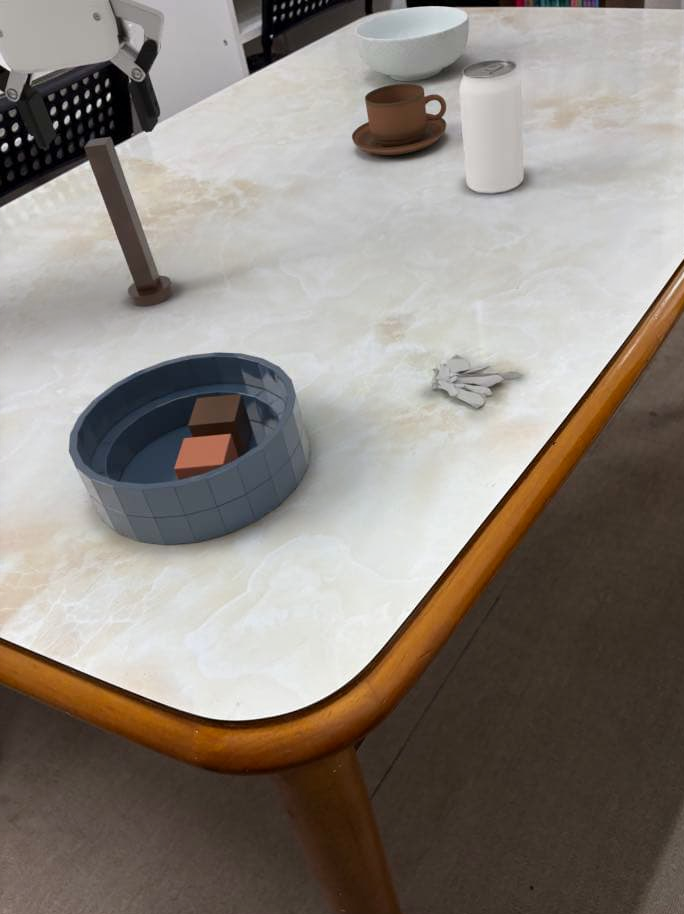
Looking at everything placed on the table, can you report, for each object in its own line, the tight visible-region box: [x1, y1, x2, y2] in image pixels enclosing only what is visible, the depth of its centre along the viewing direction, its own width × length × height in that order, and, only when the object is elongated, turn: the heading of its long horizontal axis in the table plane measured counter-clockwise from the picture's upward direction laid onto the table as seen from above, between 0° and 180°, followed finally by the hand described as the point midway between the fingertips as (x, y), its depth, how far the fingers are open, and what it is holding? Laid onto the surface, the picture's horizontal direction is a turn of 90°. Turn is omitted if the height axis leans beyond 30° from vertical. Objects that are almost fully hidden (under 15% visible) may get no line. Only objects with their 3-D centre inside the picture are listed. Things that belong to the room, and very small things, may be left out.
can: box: [459, 58, 525, 195], centre depth 93 cm, size 6×6×12 cm
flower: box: [430, 354, 524, 409], centre depth 68 cm, size 8×8×3 cm
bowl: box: [68, 351, 311, 546], centre depth 63 cm, size 16×16×6 cm
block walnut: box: [188, 394, 253, 457], centre depth 65 cm, size 4×4×4 cm
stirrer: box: [83, 136, 175, 308], centre depth 82 cm, size 4×4×15 cm
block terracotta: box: [174, 434, 239, 480], centre depth 61 cm, size 4×4×4 cm
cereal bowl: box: [354, 5, 470, 82], centre depth 128 cm, size 17×17×7 cm
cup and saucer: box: [351, 83, 447, 156], centre depth 107 cm, size 12×12×6 cm
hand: (99, 134), depth 76 cm, fingers open, 9 cm apart
